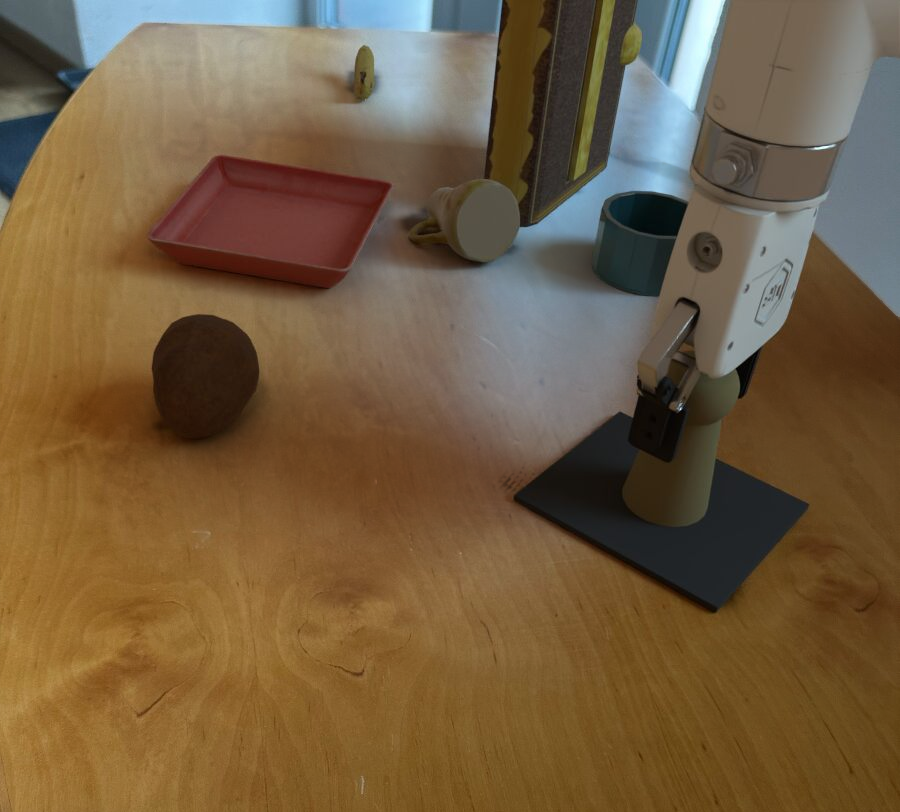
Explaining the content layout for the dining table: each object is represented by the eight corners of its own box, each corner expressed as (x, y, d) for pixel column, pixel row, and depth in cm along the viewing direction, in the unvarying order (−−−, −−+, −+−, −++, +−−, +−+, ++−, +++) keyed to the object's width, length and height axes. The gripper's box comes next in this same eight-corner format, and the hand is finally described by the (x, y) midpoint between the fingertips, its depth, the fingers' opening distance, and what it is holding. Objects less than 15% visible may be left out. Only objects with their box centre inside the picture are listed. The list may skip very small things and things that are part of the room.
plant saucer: (348, 304, 88) (349, 268, 85) (147, 271, 89) (142, 235, 87) (394, 214, 100) (396, 181, 98) (218, 186, 102) (215, 153, 99)
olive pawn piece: (687, 539, 69) (732, 402, 61) (607, 503, 71) (641, 367, 63) (720, 493, 72) (766, 359, 65) (643, 461, 74) (679, 327, 67)
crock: (711, 271, 97) (726, 215, 93) (660, 307, 92) (675, 249, 88) (625, 236, 101) (637, 181, 97) (572, 269, 95) (582, 212, 91)
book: (539, 233, 100) (582, -63, 82) (463, 208, 102) (490, -84, 85) (625, 162, 114) (679, -104, 96) (557, 142, 116) (597, -121, 99)
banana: (355, 77, 126) (355, 42, 123) (375, 79, 126) (375, 44, 123) (351, 108, 119) (352, 71, 116) (372, 109, 119) (373, 73, 116)
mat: (807, 509, 73) (810, 503, 72) (715, 613, 65) (717, 607, 64) (618, 416, 79) (619, 410, 79) (512, 500, 71) (513, 494, 71)
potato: (144, 454, 71) (127, 356, 66) (170, 376, 78) (157, 281, 73) (250, 461, 72) (242, 364, 66) (267, 382, 79) (261, 288, 73)
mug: (461, 215, 102) (513, 142, 94) (487, 297, 99) (541, 231, 91) (396, 205, 98) (443, 129, 90) (420, 291, 95) (471, 221, 87)
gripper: (756, 229, 48) (672, 507, 60) (892, 134, 58) (796, 389, 70) (621, 178, 51) (567, 453, 63) (772, 95, 61) (701, 346, 73)
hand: (688, 419), depth 67 cm, fingers open, 9 cm apart
